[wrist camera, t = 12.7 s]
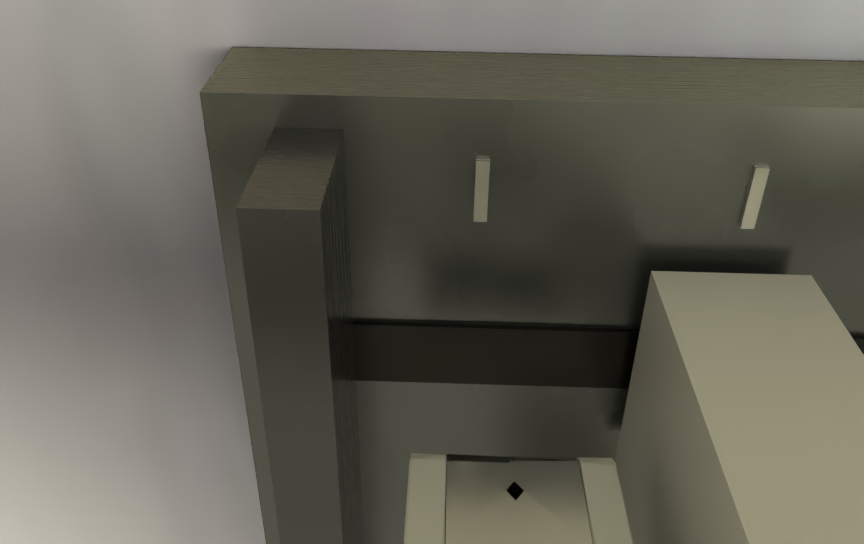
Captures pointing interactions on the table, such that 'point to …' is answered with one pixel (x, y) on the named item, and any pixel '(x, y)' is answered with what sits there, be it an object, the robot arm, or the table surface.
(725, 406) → the fader
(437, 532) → the robot arm
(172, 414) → the table surface
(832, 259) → the console
